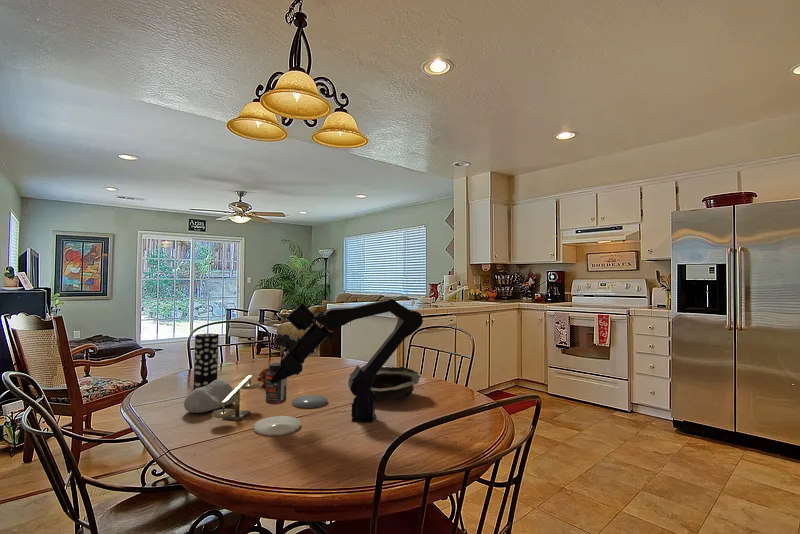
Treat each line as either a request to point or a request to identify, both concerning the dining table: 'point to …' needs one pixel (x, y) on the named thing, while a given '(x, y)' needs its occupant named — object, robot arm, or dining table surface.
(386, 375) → the stone bowl
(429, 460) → the dining table surface
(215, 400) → the decorative stone
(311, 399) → the slate dish
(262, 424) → the cream dish
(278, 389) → the supplement bottle
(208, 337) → the white-spotted black cylinder
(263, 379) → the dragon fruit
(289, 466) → the dining table surface
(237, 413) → the balance
